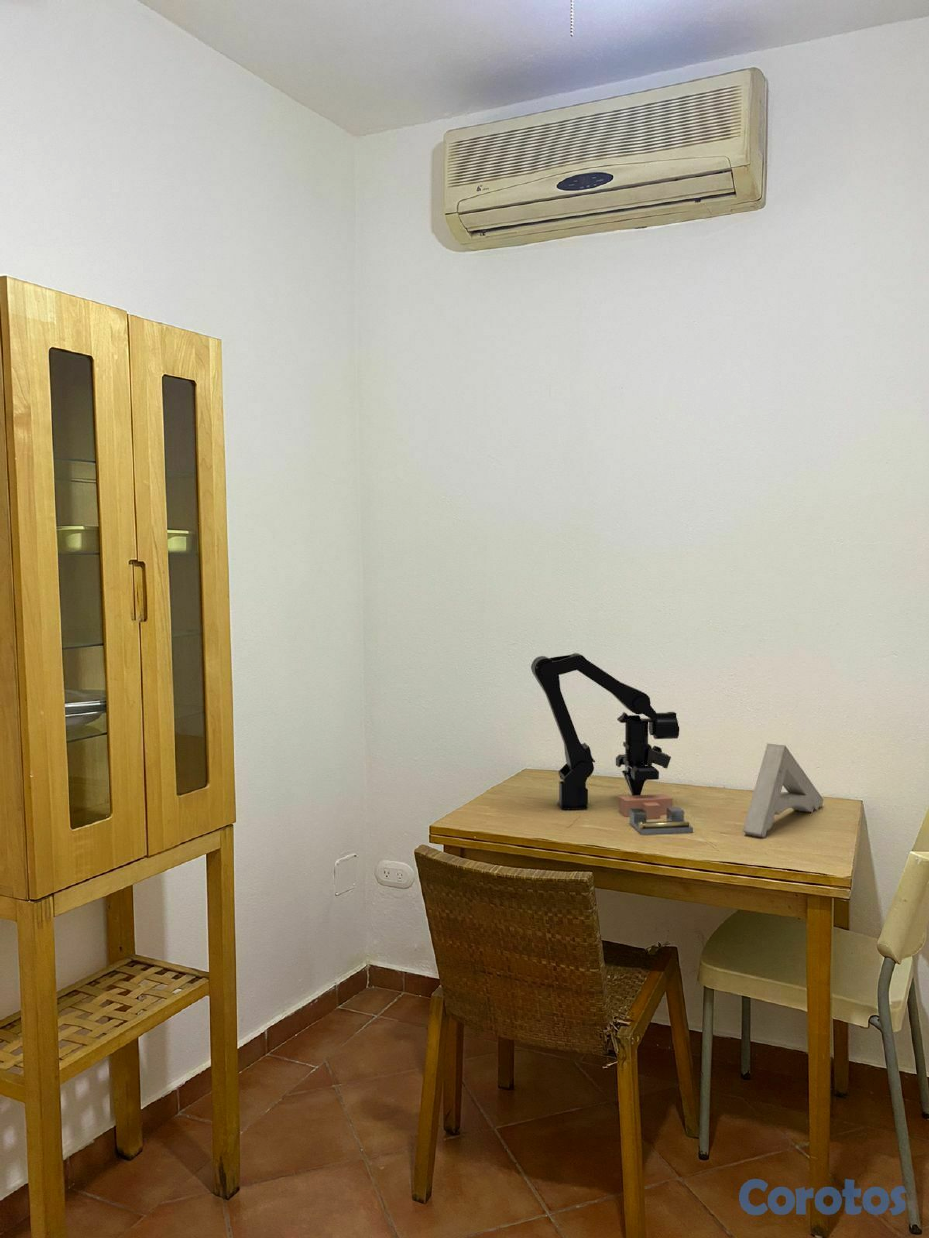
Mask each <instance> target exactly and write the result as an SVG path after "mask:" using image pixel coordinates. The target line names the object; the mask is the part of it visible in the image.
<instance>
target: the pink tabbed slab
mask: <svg viewBox="0 0 929 1238" xmlns="http://www.w3.org/2000/svg"><path fill="white" fill-rule="evenodd" d="M673 804H674V801H673V797H672V796H669V795H668V794H665V793H660V794H659V793H658V794H657V793H655V794H641V795H636V796H632V795H622V796H618V812H619V814H621V815H622V814H623V816H624V817H625V818H630V809H639V808H642V809H643V810H645V811H646V812H647V820H652V819H653V820H654V819H656V820H657V819H661V816H667V807H674V805H673Z"/></svg>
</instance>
